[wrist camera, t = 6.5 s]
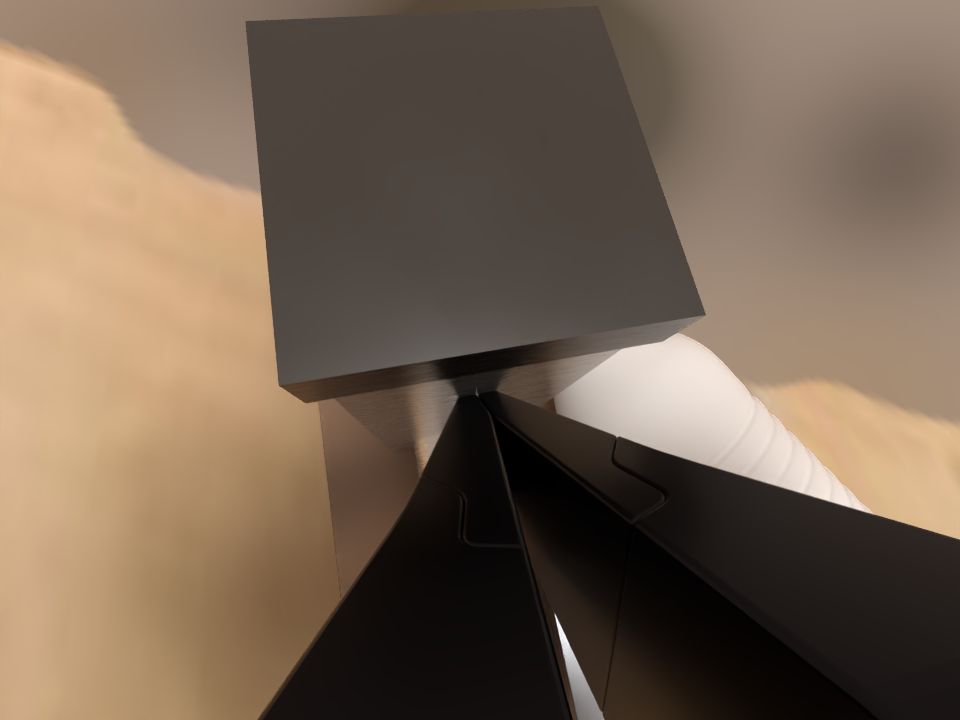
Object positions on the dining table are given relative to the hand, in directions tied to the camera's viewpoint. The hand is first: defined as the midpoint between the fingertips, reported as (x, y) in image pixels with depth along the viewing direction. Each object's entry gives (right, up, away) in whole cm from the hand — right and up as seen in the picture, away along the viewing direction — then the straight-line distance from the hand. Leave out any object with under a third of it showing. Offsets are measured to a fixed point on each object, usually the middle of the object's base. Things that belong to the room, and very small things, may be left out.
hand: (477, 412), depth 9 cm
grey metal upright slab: (-1, -2, +9) cm, 9 cm away
